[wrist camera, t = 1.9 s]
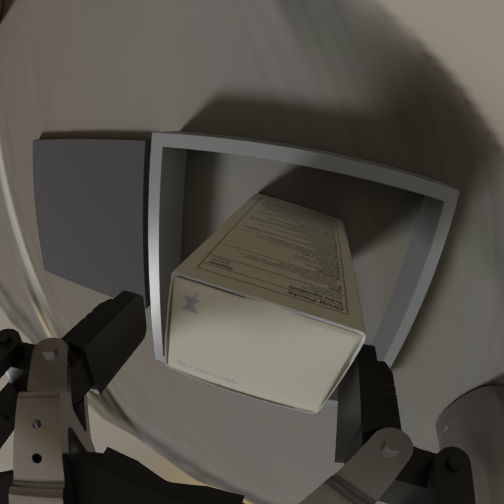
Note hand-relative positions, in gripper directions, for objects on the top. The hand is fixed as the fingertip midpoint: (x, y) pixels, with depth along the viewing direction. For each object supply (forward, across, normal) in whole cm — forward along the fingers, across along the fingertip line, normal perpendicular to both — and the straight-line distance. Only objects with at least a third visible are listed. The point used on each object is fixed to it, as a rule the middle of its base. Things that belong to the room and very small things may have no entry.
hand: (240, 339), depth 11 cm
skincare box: (+11, -1, 0) cm, 11 cm away
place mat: (+11, +17, +1) cm, 21 cm away
